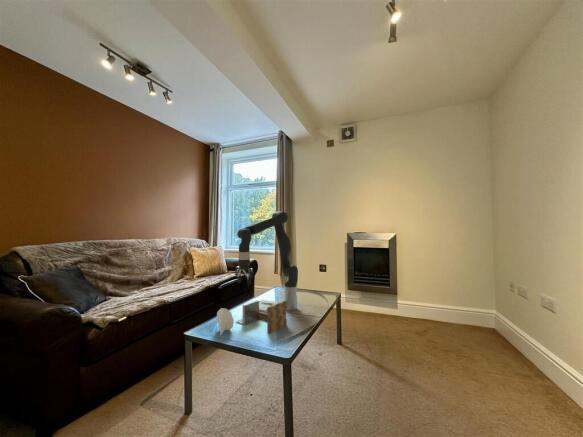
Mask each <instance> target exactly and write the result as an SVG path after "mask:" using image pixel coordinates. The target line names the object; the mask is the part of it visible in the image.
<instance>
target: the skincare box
mask: <svg viewBox="0 0 583 437" xmlns="http://www.w3.org/2000/svg"><path fill="white" fill-rule="evenodd" d="M258 301H259V312H263V313H266V314H267V311H268V307H269V306H272V305H274V304H277V303H279V302H280V301H276V300H275V301H273V300H267V299H261V300H260V299H259V300H258Z"/></svg>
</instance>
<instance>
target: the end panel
mask: <svg viewBox="0 0 583 437" xmlns="http://www.w3.org/2000/svg"><path fill="white" fill-rule="evenodd" d="M278 302H279V303H277V304H274V305H272V306H269V307H268V311H267V321H266V324H267V327H266V328H267V330H266V333H267V334H272V333H274V332H276V331H277V330H279V329H281V328H283V327H286V326H285V319H287V310H286V301H285V300H282V301H278Z"/></svg>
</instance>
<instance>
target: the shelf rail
mask: <svg viewBox="0 0 583 437" xmlns="http://www.w3.org/2000/svg"><path fill="white" fill-rule="evenodd" d="M258 320H261V321H262V320H263V321H266V322H267V314H266V313H263V312H259V319H258ZM287 324H288V321H287V318H286V319H285V326H284V327H287Z"/></svg>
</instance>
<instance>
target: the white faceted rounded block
mask: <svg viewBox="0 0 583 437" xmlns="http://www.w3.org/2000/svg"><path fill="white" fill-rule="evenodd" d="M216 321H217V324H218V326H219V327H220V332H219V336H221V335H222V334H223V333H224V332H225V331H231V329H233V328H234V318H233V314H232V312H231V311H230V310H229V309H228V308H224V307H223V308H222V307H221V308H220V309H218V311H217V312H216Z"/></svg>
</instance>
